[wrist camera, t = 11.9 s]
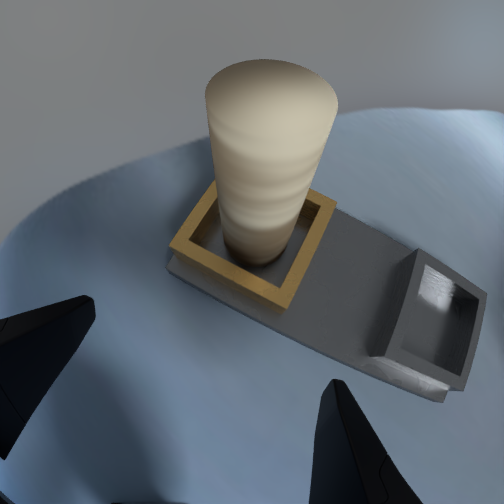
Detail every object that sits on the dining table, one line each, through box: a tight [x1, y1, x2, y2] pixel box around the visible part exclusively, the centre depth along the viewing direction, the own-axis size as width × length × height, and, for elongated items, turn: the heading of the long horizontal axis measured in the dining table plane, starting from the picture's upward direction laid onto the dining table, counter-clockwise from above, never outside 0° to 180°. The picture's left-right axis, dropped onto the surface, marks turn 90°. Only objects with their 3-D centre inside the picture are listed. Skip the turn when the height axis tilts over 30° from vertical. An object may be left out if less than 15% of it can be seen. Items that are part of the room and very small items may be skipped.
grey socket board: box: [165, 179, 487, 403], centre depth 17 cm, size 21×9×3 cm, turn 62°
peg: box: [205, 59, 338, 267], centre depth 13 cm, size 4×4×11 cm
